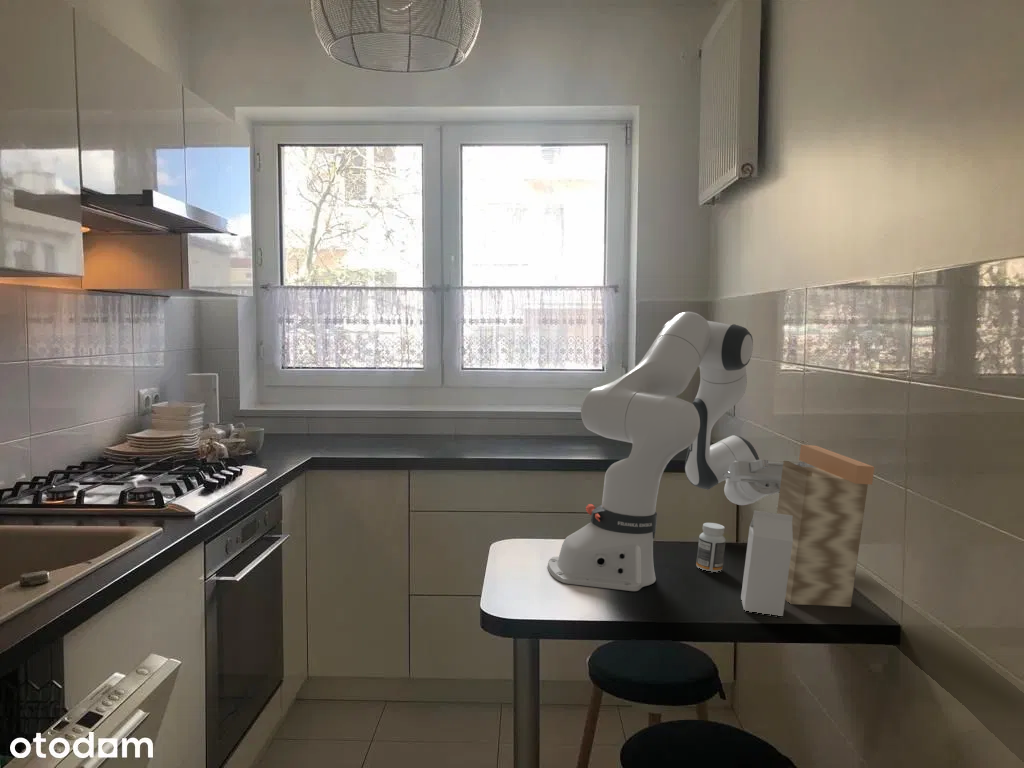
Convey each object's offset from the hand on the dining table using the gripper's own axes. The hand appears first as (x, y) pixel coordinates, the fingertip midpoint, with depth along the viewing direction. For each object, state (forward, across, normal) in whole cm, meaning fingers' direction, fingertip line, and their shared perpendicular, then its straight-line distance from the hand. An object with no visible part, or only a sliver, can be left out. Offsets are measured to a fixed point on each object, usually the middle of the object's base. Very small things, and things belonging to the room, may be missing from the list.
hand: (784, 464), depth 180 cm
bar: (+20, 0, +7) cm, 21 cm away
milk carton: (+18, -17, +35) cm, 43 cm away
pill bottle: (-1, -20, +25) cm, 32 cm away
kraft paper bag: (+10, -3, +31) cm, 33 cm away
